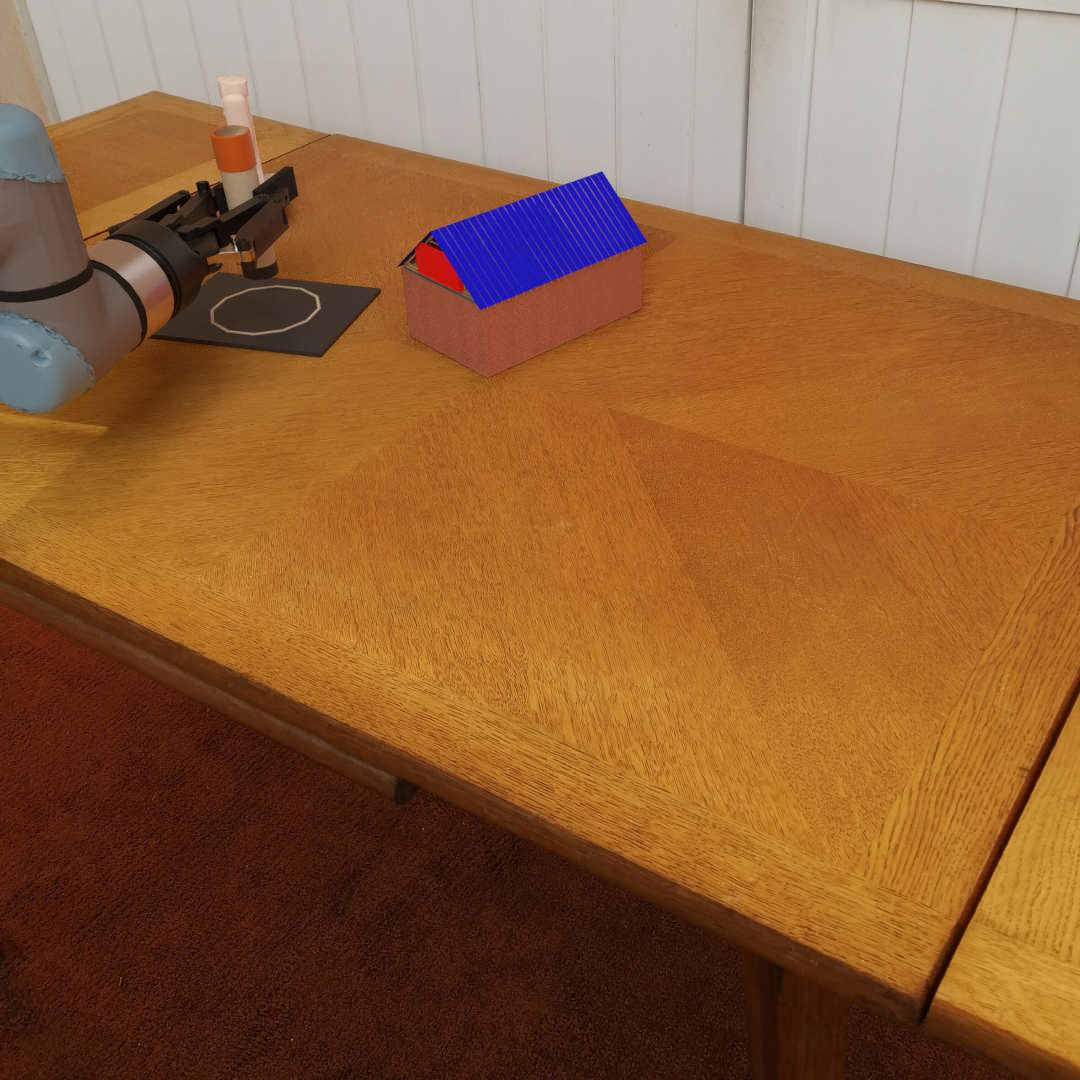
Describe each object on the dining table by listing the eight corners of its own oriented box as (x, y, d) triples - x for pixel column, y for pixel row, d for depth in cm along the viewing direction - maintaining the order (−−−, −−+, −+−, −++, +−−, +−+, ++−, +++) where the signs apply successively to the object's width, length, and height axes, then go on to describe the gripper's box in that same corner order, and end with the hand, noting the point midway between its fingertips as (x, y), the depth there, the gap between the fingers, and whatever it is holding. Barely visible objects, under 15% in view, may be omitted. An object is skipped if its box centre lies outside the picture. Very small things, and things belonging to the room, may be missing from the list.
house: (646, 308, 108) (648, 187, 100) (486, 380, 97) (475, 252, 90) (563, 271, 115) (559, 155, 107) (405, 335, 104) (388, 212, 97)
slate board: (144, 337, 105) (143, 332, 104) (218, 275, 115) (217, 270, 115) (320, 357, 101) (320, 352, 101) (381, 291, 111) (380, 287, 111)
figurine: (291, 200, 131) (264, 62, 121) (295, 230, 124) (267, 87, 114) (227, 206, 129) (195, 68, 120) (228, 237, 122) (194, 93, 113)
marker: (236, 278, 105) (202, 136, 96) (253, 264, 107) (221, 123, 99) (268, 282, 104) (237, 138, 96) (285, 267, 107) (256, 126, 98)
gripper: (60, 316, 92) (206, 211, 109) (237, 337, 89) (358, 225, 106) (29, 227, 87) (186, 132, 104) (215, 246, 84) (346, 144, 101)
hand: (273, 179), depth 105 cm, fingers closed on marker, 3 cm apart
